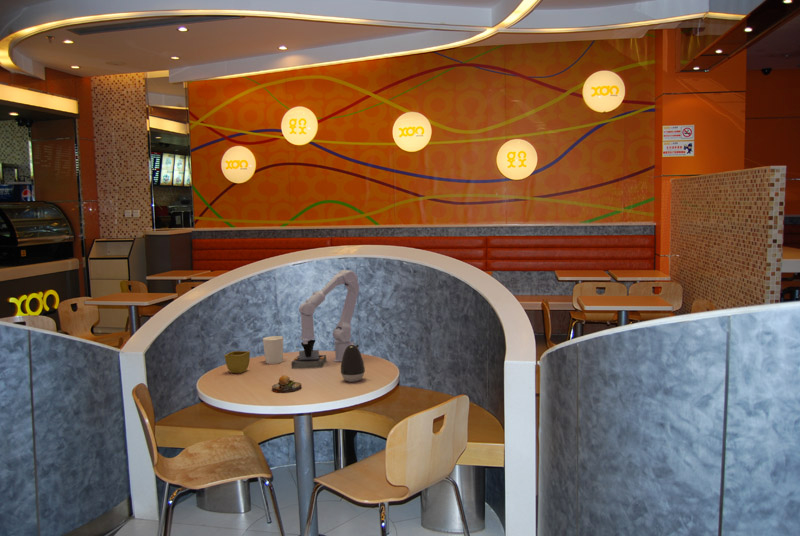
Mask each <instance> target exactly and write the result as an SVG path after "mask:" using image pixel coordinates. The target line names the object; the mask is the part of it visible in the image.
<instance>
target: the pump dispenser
mask: <svg viewBox="0 0 800 536" xmlns="http://www.w3.org/2000/svg"><path fill="white" fill-rule="evenodd" d="M359 347H360V345H359V344H356V345H355V344H354V345H349V346H347V348H346V349H345V351H344V354H343V357H342V361H341V363H340V374H341V376H342V378H343V379H344V381H346V382H350V383H357V382H359V381H361V380H362V379H363V377H364V375H365V372H366V369H365V368H366V367H365V363H364V359H363V356H362V354H361V351H360V349H359Z"/></svg>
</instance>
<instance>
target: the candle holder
mask: <svg viewBox="0 0 800 536" xmlns="http://www.w3.org/2000/svg"><path fill="white" fill-rule="evenodd" d="M262 344H263V350H264V359H265V360H264V361H265V364H268V365H275V364H281V363H283V362H284V336H280V335H275V336H273V335H272V336H266V337H263V338H262Z"/></svg>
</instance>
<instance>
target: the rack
mask: <svg viewBox="0 0 800 536" xmlns="http://www.w3.org/2000/svg"><path fill="white" fill-rule="evenodd" d="M326 362H327V354H319V359H300V358H299V355H297V356H295V357H294V358H293V360H292V361H291V363H290V364H291V369H317V368H319V369H321V368H323V366H325V364H326Z"/></svg>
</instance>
